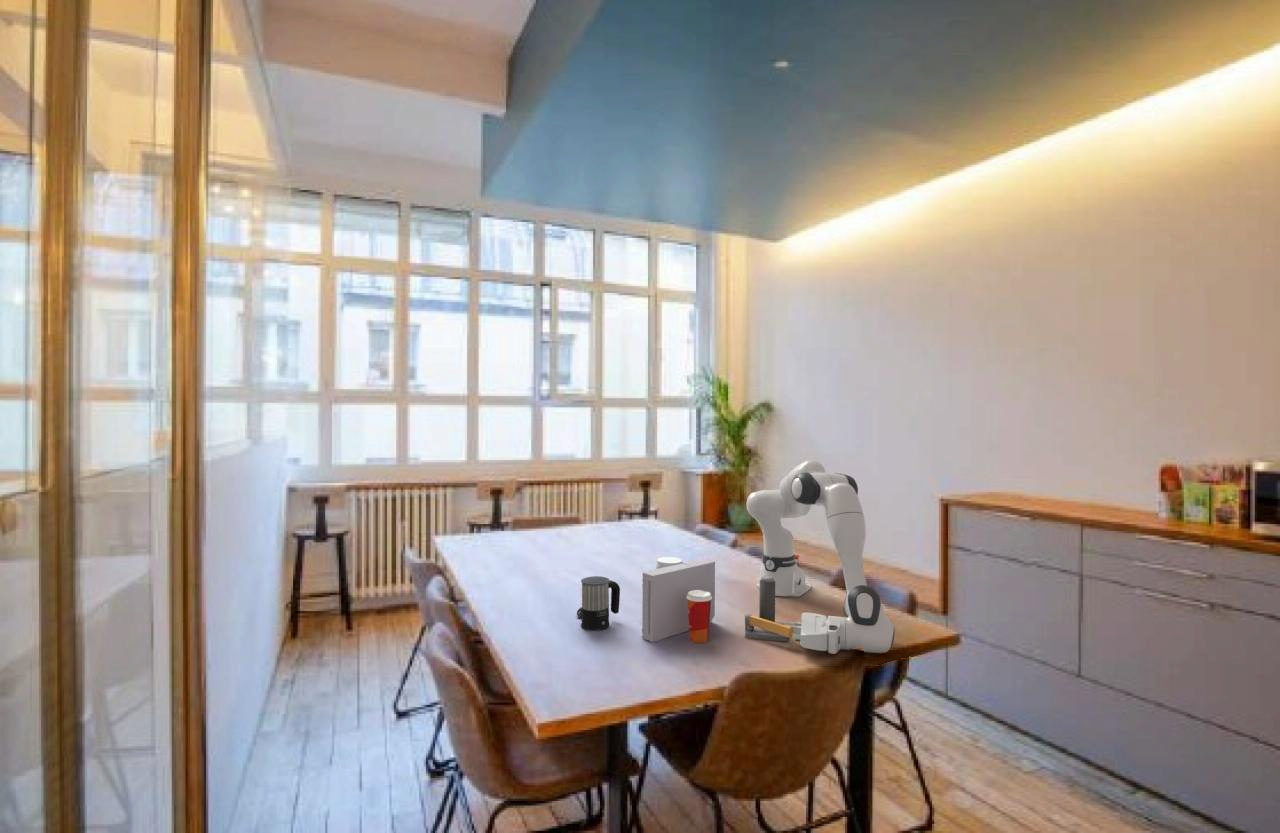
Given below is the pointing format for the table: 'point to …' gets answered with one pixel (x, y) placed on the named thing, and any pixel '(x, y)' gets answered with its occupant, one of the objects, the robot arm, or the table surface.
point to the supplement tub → (667, 562)
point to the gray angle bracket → (766, 635)
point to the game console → (673, 597)
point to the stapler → (768, 625)
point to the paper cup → (699, 615)
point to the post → (748, 627)
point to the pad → (797, 637)
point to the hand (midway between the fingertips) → (784, 626)
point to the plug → (766, 602)
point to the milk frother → (598, 602)
